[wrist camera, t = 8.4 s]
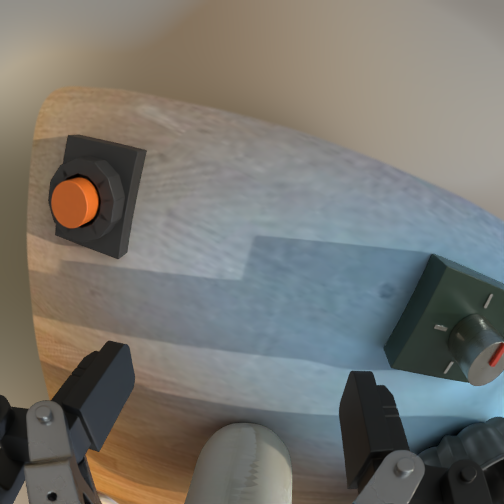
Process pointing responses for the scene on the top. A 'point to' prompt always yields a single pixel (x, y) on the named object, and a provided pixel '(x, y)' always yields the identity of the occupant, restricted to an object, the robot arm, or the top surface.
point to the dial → (477, 349)
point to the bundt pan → (475, 453)
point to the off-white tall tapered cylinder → (242, 468)
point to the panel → (442, 317)
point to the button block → (102, 191)
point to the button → (74, 202)
